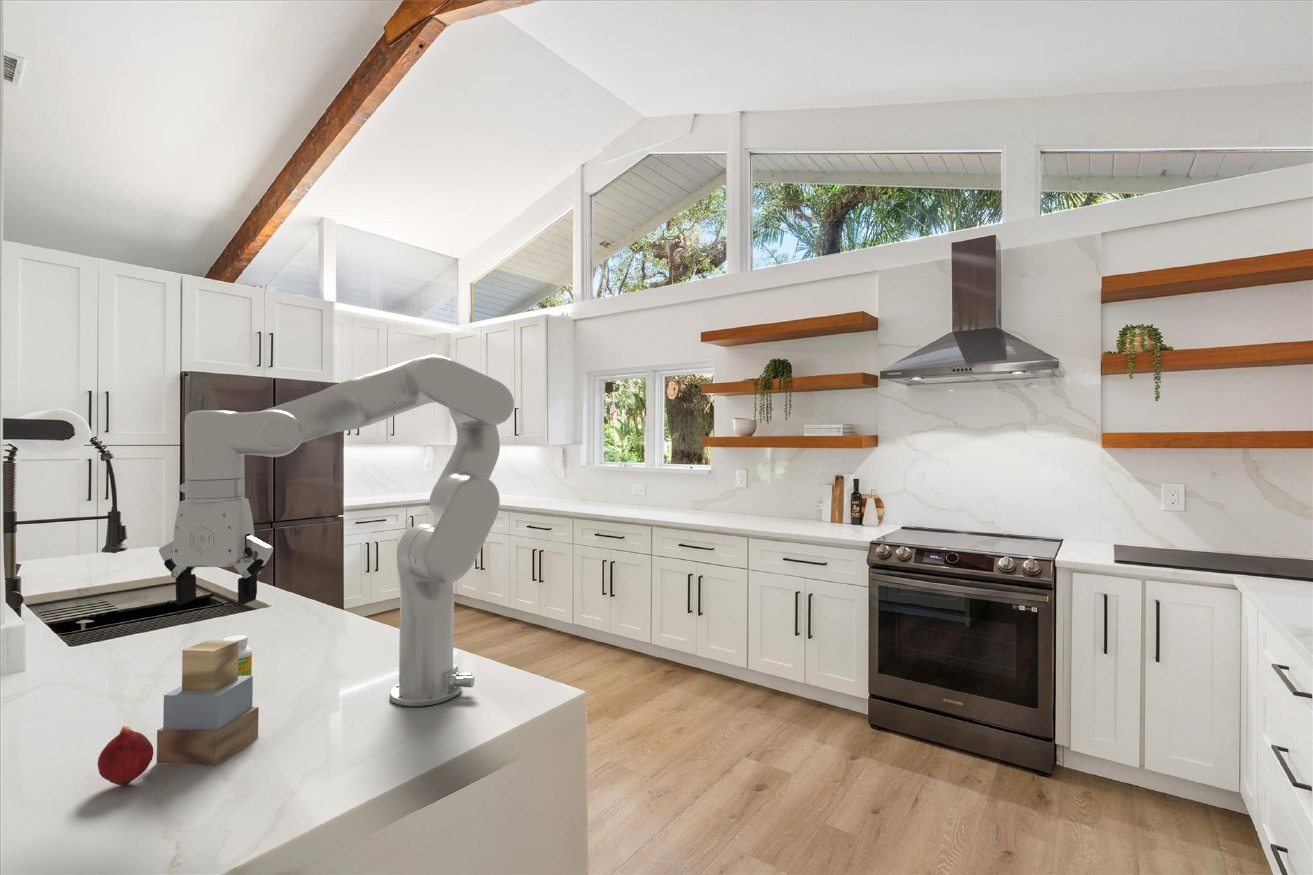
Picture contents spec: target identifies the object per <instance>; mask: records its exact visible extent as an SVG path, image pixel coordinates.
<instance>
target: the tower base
mask: <svg viewBox="0 0 1313 875" xmlns="http://www.w3.org/2000/svg"><path fill="white" fill-rule="evenodd" d="M257 739H259V707H258V706H252V708H251V709H249V710H248V711H246V712H245V713H243V714H242V715H240V716H239V717H237V718H236V719H234V720H232V721H231V722H229V723H228V724H226V725H225V726H223V727H222V728H220V729H219V730H163V726H162V727H160V728H159V729H157V731H156V764H159V763H162V764H163V763H167V764H166V765H183V766H184V765H186V766H188V765H189V766H207V767H208V766H209V767H216V766H218V765H220V763H221V762H223V761H225V760H227V759H228V758H229V757H231V756H232V755H234V754H235V753H237V752H238V751H240V750H242V749H243V748H245V747H246V746H248V745H249V744H251V743H252V742H254V741H256V740H257ZM162 764H161V765H162Z"/></svg>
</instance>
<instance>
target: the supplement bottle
mask: <svg viewBox="0 0 1313 875" xmlns="http://www.w3.org/2000/svg"><path fill="white" fill-rule="evenodd" d="M222 640H225V641H239V650H238V676H253V675H252V672H253V671H252V670H253V667H252V663H253V650H252V648H251V647H249V646H247V645H248V642H249V638H248V635H244V634H243V635H242V634H240V635H239V634H238V635H231V636H227V637H224V638H223V639H222Z"/></svg>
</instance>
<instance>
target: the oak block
mask: <svg viewBox="0 0 1313 875" xmlns="http://www.w3.org/2000/svg"><path fill="white" fill-rule="evenodd" d="M238 650H239V641H225V640H223V639H222V640H219V639H208V640H205V641H202V642H200V643H197V644H195V645H192V646H189V647H187V648H184V649H182V651H181V652H182V657H181V659H182V661H181V667H182V668H181V686H182V690H185V691H208V692H214V691H216V690H218V689H220V688H222V687H224V686H226V685H228V684H230V683H232V682H234V681H236V680H238Z"/></svg>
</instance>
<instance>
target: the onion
mask: <svg viewBox="0 0 1313 875" xmlns="http://www.w3.org/2000/svg"><path fill="white" fill-rule="evenodd" d="M153 758H154V746H153V744H152V742H151V741H150V740H149V739H148V737H146V736H145V735H144V734H143V733H141V732H138V731H134V730H132V728H130V727H129V726H128V725H122V727H121V730H120V731H119V734H117V735H116V736H115V737H114V738H112V739H111V740H110V741H109V742H108V743H107V744H106V746H104V748H103V749H102V751H101V752H100V754H99V756H98V760H97V769H98V773H99V775H100V776H101V778H103V779H104V780H106V781H109V782H110V783H112V784H115V785H116V786H117V785H118V786H120V787H125V786H128V785H129V784H131V783H132V782H133V781H135V780H136V779H137V778H139V777H140V776H141V775H143V773H144V772H145V771H146V770H148V767H149V766H150V764H151V762H152V760H153Z"/></svg>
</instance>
